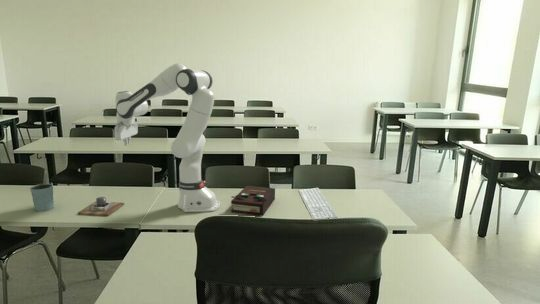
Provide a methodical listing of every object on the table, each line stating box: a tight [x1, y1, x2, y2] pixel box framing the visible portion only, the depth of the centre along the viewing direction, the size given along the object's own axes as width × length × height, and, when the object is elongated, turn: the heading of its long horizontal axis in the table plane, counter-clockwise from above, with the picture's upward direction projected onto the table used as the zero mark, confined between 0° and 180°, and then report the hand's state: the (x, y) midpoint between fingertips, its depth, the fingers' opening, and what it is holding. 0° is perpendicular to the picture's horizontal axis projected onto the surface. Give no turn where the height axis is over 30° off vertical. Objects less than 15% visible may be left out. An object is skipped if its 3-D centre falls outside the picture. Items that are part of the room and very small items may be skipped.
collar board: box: [77, 200, 125, 217], centre depth 196 cm, size 16×16×2 cm
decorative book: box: [230, 185, 276, 217], centre depth 204 cm, size 19×8×30 cm
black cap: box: [95, 196, 107, 207], centre depth 196 cm, size 4×4×5 cm
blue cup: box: [29, 183, 55, 212], centre depth 196 cm, size 10×10×12 cm
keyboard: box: [298, 187, 338, 220], centre depth 208 cm, size 44×12×2 cm, turn 5°
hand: (127, 145), depth 212 cm, fingers closed
